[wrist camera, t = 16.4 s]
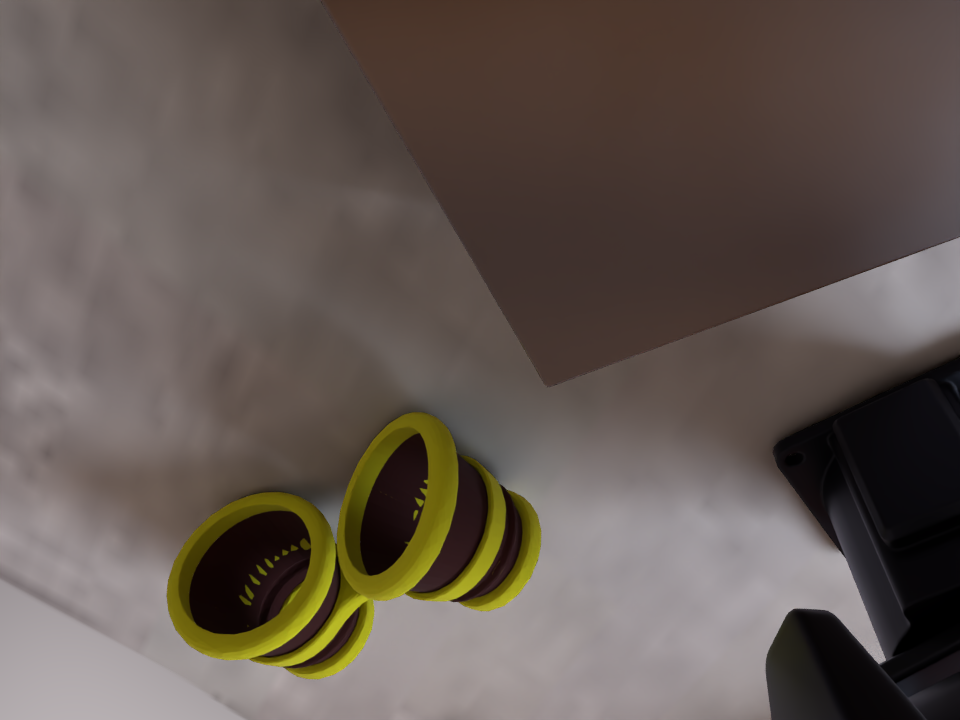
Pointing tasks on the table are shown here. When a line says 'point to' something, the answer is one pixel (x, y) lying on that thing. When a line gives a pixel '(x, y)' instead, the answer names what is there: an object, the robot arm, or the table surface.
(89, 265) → the table surface
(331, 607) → the opera glasses
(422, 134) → the organiser
